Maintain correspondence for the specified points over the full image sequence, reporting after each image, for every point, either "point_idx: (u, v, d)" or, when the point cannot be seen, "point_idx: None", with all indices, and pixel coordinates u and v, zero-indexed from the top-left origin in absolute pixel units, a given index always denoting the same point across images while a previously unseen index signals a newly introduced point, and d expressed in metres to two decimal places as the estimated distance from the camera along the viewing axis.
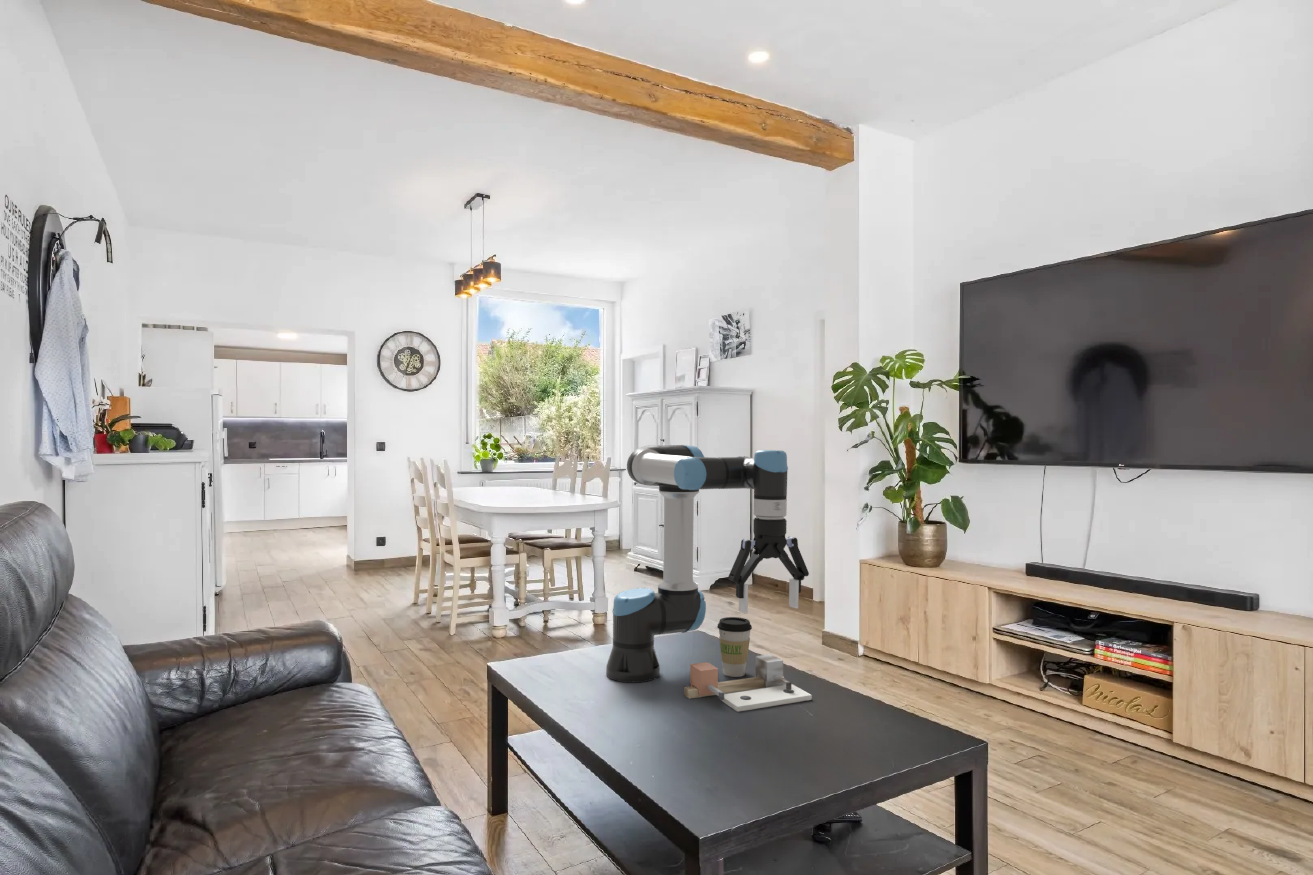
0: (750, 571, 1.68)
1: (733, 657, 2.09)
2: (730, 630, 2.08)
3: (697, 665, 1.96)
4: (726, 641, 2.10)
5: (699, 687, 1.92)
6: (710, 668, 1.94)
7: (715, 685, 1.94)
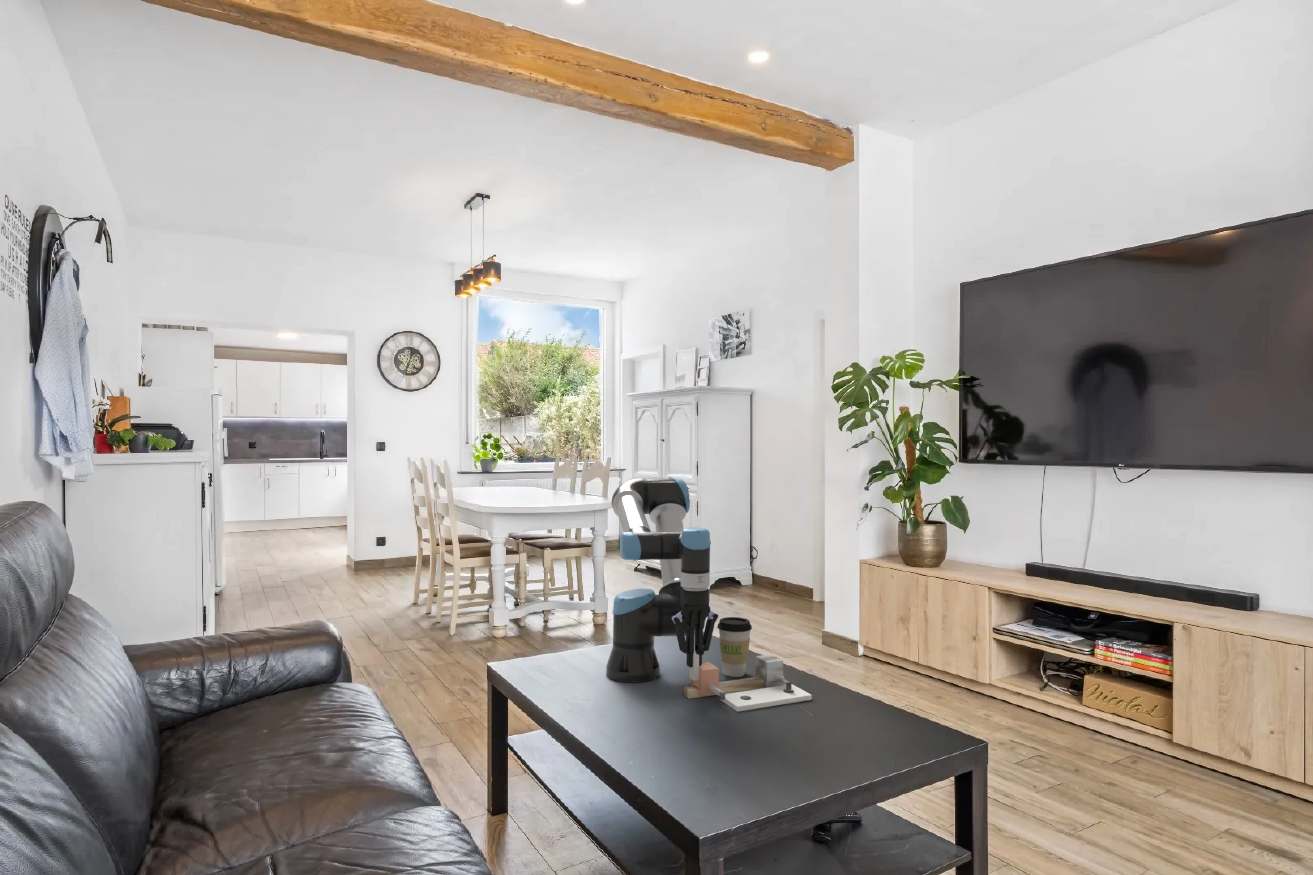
0: (692, 641, 1.93)
1: (733, 657, 2.09)
2: (730, 630, 2.08)
3: None
4: (726, 641, 2.10)
5: (700, 687, 1.93)
6: (711, 668, 1.94)
7: (716, 685, 1.94)
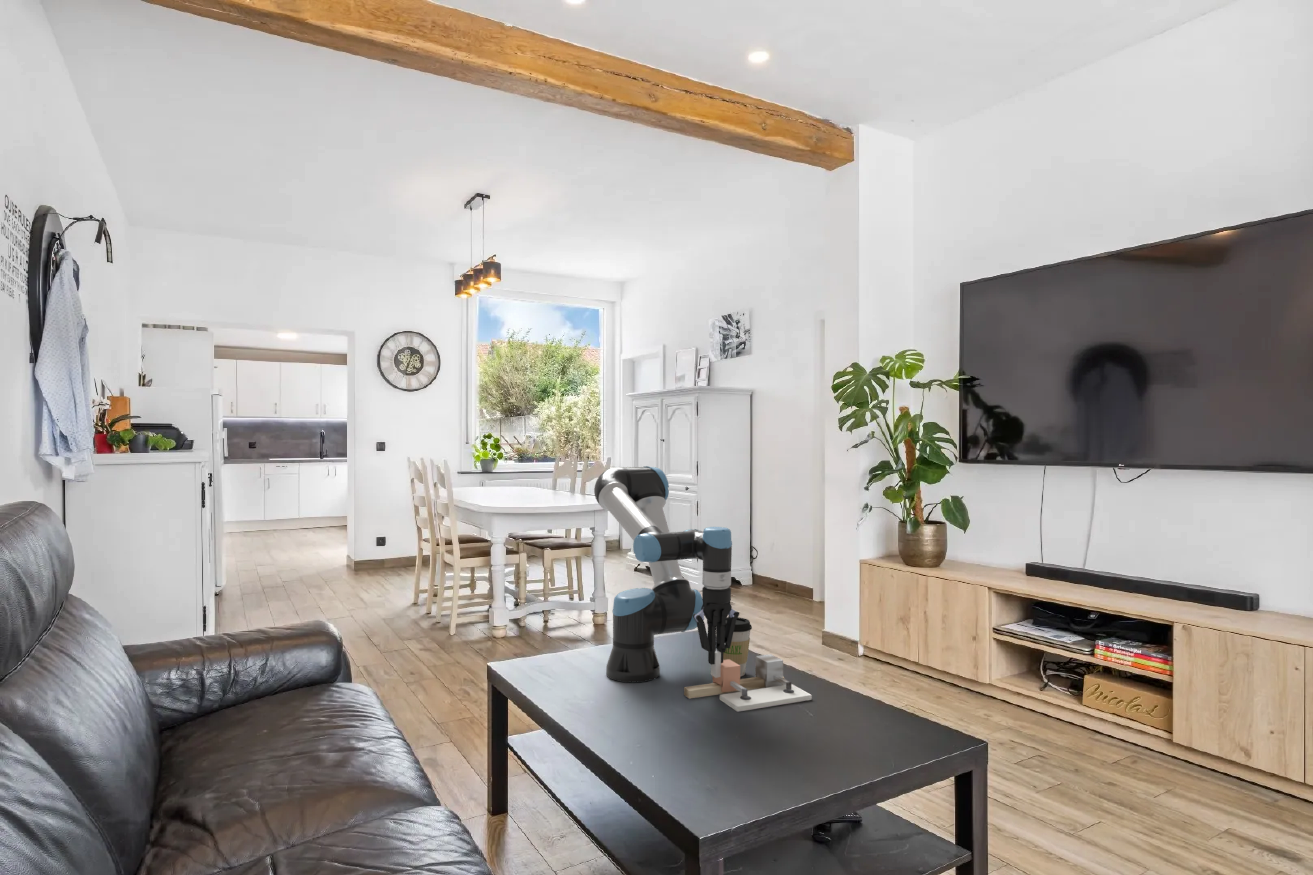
0: (714, 639, 1.95)
1: (733, 657, 2.09)
2: None
3: None
4: None
5: (722, 684, 1.95)
6: (732, 665, 1.97)
7: (737, 682, 1.96)
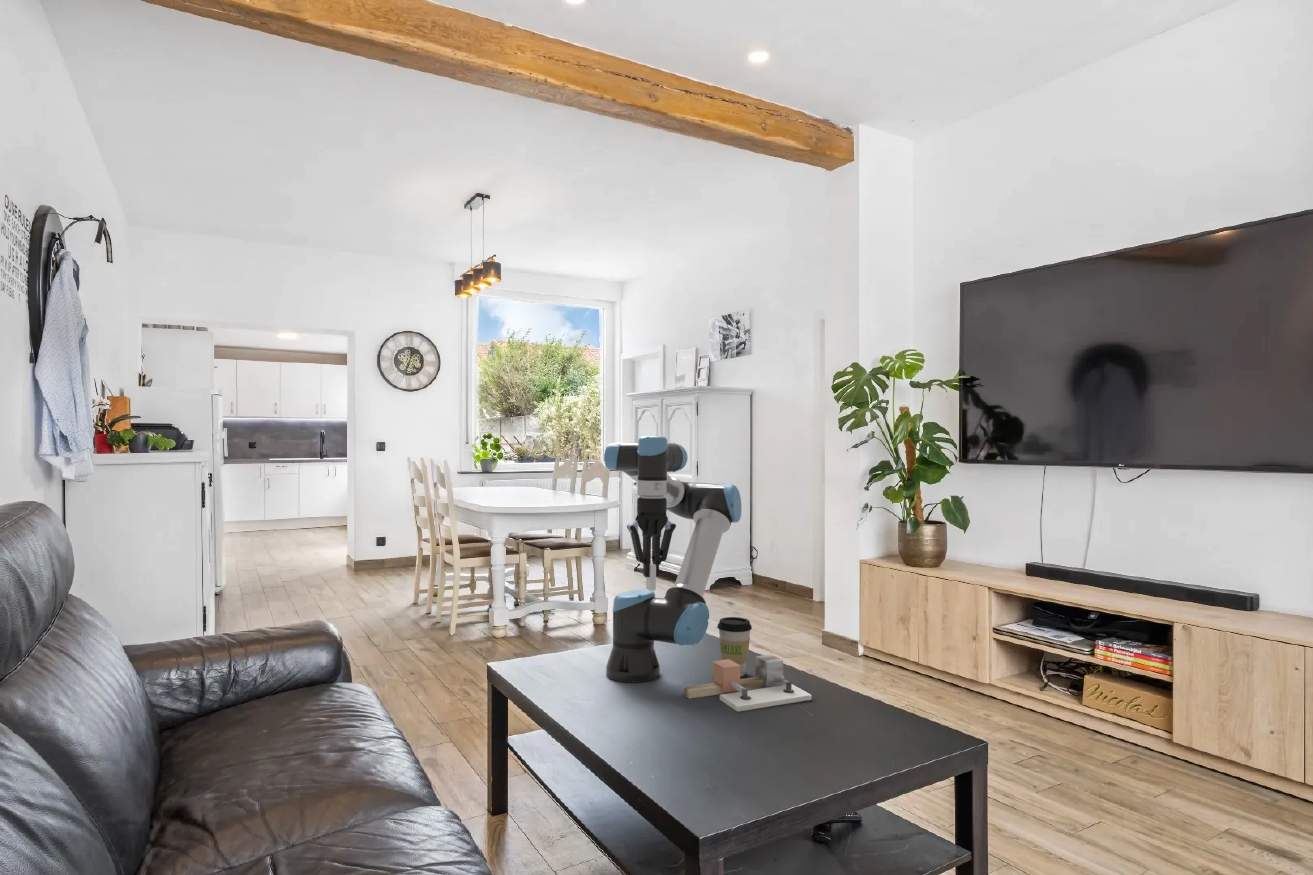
0: (649, 550, 1.89)
1: (733, 657, 2.09)
2: (730, 630, 2.08)
3: (720, 662, 1.99)
4: (726, 641, 2.10)
5: (722, 684, 1.95)
6: (732, 665, 1.97)
7: (737, 682, 1.96)
